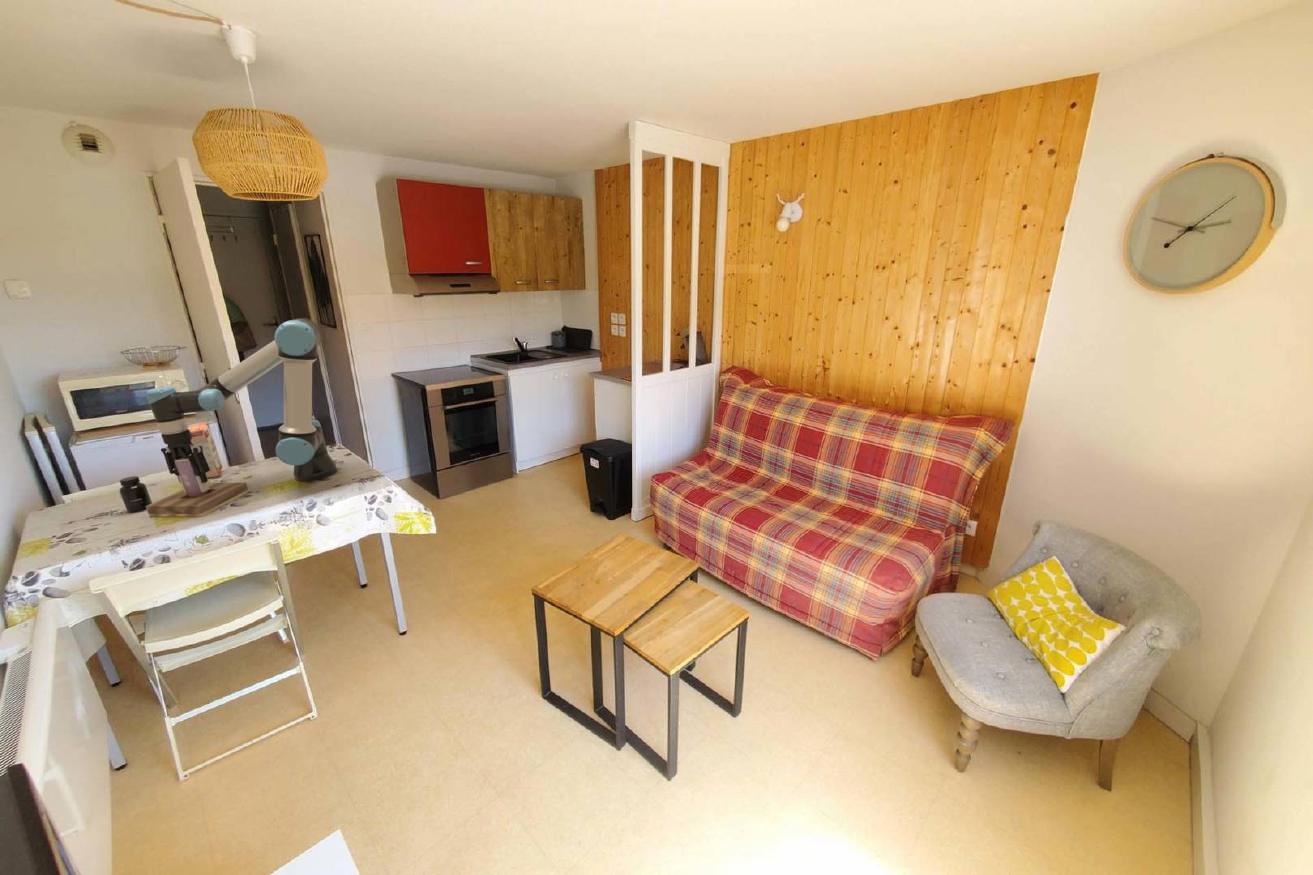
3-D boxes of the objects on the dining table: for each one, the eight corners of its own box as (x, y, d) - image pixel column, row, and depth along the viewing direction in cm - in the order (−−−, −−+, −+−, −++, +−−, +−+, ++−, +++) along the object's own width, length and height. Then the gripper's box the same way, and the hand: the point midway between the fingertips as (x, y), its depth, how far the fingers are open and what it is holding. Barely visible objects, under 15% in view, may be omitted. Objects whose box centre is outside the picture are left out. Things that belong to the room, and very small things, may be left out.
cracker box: (221, 476, 212) (204, 429, 205) (202, 479, 208) (185, 432, 201) (223, 466, 222) (208, 421, 215) (206, 469, 219) (189, 424, 212)
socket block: (249, 491, 195) (246, 482, 194) (202, 516, 176) (198, 506, 175) (201, 491, 197) (197, 482, 195) (149, 516, 178) (145, 506, 176)
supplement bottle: (137, 513, 180) (124, 483, 176) (122, 512, 182) (109, 482, 178) (158, 504, 187) (146, 475, 183) (144, 503, 188) (131, 474, 184)
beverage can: (213, 491, 188) (200, 454, 183) (198, 498, 182) (184, 460, 177) (199, 491, 188) (185, 454, 183) (183, 498, 183) (169, 460, 178)
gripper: (209, 427, 180) (230, 486, 188) (160, 428, 181) (182, 486, 189) (190, 434, 173) (212, 494, 180) (139, 434, 174) (163, 495, 182)
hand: (197, 490), depth 185 cm, fingers closed on beverage can, 6 cm apart
